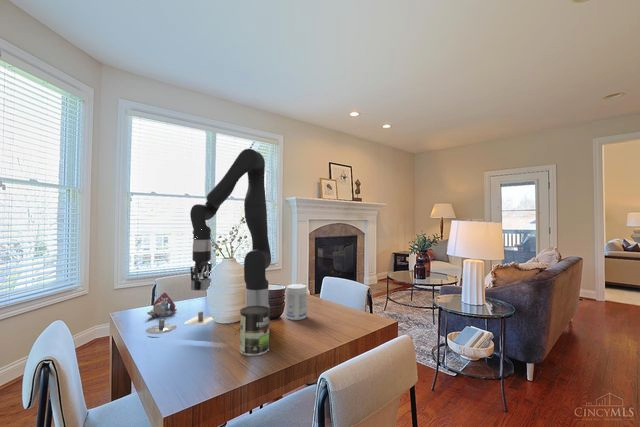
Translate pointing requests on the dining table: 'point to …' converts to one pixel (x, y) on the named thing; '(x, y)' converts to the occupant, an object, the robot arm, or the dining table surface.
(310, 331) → the dining table surface
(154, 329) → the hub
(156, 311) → the brake caliper
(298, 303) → the supplement tub
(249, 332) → the coffee can
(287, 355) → the dining table surface
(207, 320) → the stand
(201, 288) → the square socket block
